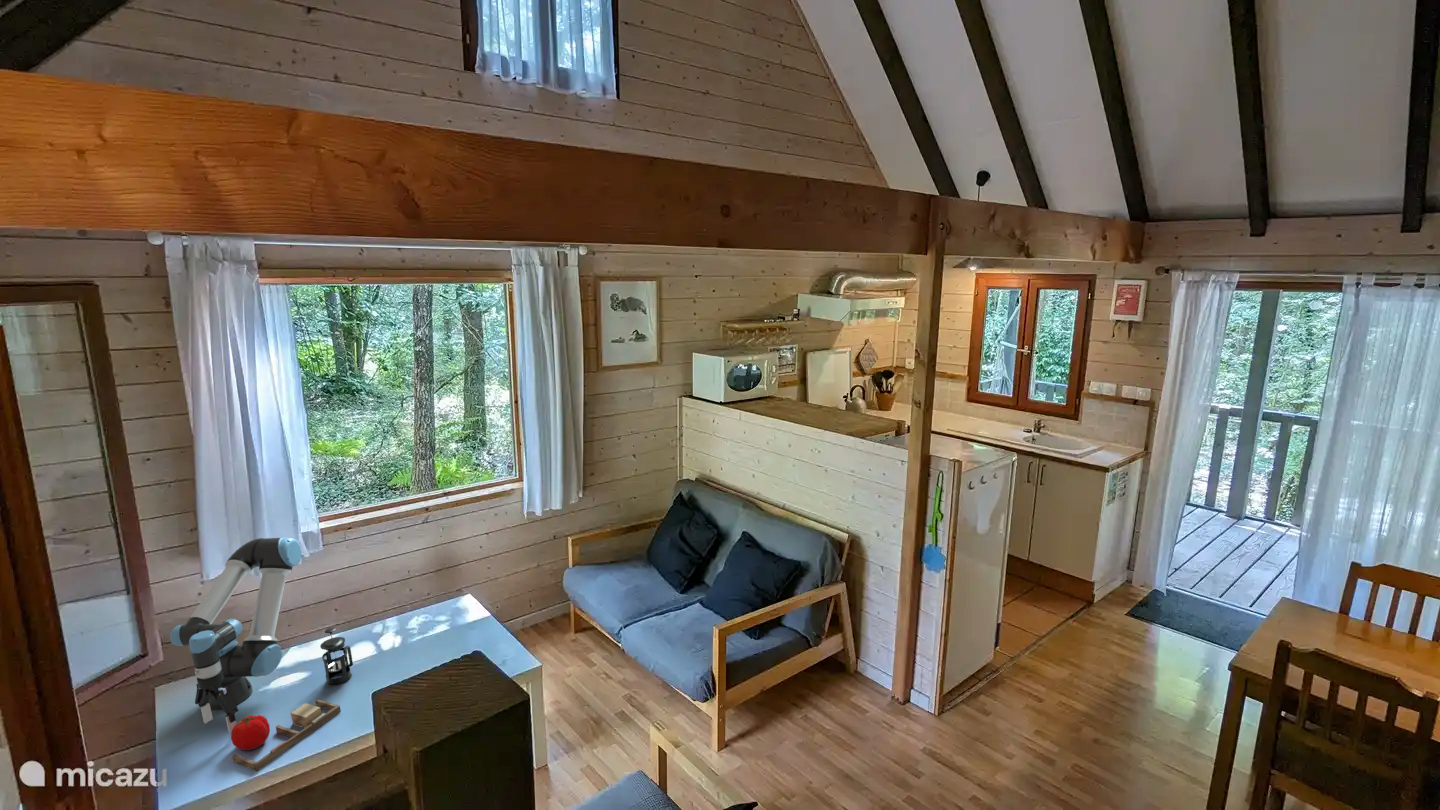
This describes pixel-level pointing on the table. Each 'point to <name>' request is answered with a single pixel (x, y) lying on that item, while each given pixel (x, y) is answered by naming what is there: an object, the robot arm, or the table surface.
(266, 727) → the tomato
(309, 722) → the light wooden block
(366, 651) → the table surface
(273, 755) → the rack
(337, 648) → the french press
